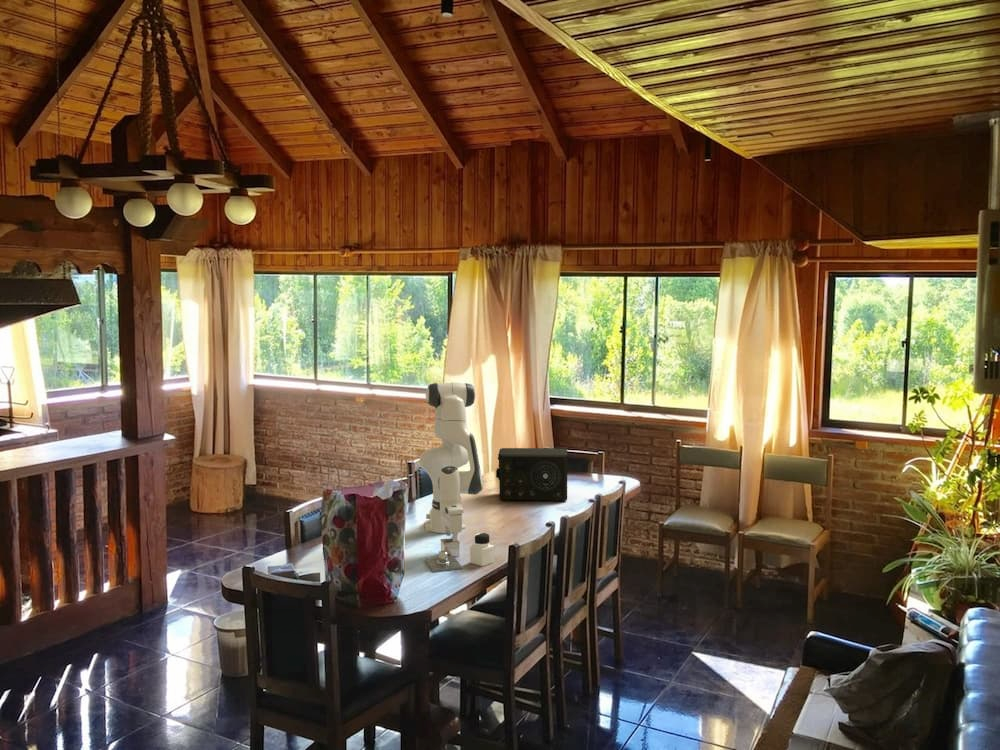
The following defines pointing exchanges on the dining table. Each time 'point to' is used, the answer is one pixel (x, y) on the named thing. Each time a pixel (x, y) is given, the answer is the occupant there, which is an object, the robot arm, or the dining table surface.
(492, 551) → the medicine bottle
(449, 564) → the duct base
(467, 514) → the dining table surface
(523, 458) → the vintage radio
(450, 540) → the cream brown-topped cube
